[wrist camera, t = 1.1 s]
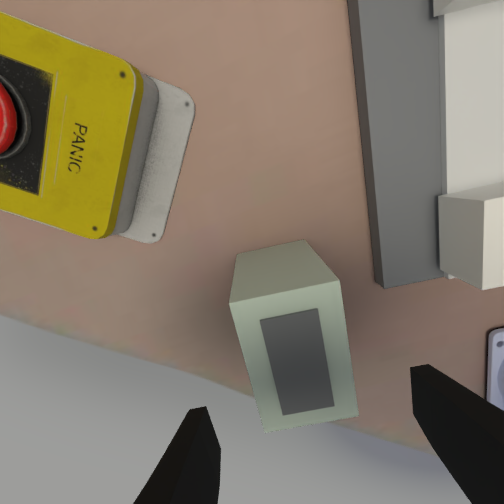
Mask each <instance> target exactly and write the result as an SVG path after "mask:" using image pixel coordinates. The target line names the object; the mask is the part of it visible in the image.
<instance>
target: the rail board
mask: <svg viewBox="0 0 504 504" xmlns="http://www.w3.org/2000/svg"><path fill="white" fill-rule="evenodd" d="M347 2H348V12H349V22H350V32H351V42H352V52H353V62H354V72H355V82H356V92H357V102H358V112H359V121H360V131H361V141H362V151H363V161H364V171H365V181H366V191H367V201H368V211H369V221H370V231H371V241H372V251H373V261H374V271H375V281H376V282H377V283H378V284H379V285H380V286H381V287H383V288H384V289H387V288H391V287H396V286H401V285H406V284H411V283H416V282H421V281H425V280H430V279H435V278H440V277H446V278H447V279H451V278H458V279H460V280H462V281H464V282H466V283H469V284H471V285H473V286H475V287H477V288H479V289H481V290H486V289H491V288H496V287H501V286H504V0H347Z"/></svg>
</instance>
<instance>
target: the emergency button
mask: <svg viewBox="0 0 504 504" xmlns="http://www.w3.org/2000/svg"><path fill="white" fill-rule="evenodd" d="M194 117H195V104H194V102H193V100H192V98H191V97H190V95H189V94H188V93H186V92H185V91H183V90H182V89H180V88H178V87H176V86H173V85H171V84H168V83H165V82H163V81H160V80H158V79H155V78H153V77H150V76H147V75H145V74H143V73H141V72H140V71H139V70H138V69H137V68H135V67H134V66H133V65H131V64H130V63H128V62H126V61H125V60H123V59H121V58H119V57H116V56H114V55H111V54H108V53H106V52H103V51H101V50H98V49H96V48H93V47H91V46H88V45H86V44H83V43H80V42H78V41H75V40H73V39H70V38H68V37H65V36H63V35H60V34H58V33H55V32H52V31H50V30H47V29H45V28H42V27H40V26H37V25H35V24H32V23H30V22H27V21H24V20H22V19H19V18H17V17H14V16H12V15H9V14H7V13H4V12H2V11H0V210H1V211H4V212H7V213H10V214H13V215H17V216H20V217H23V218H26V219H29V220H32V221H35V222H38V223H42V224H45V225H48V226H51V227H54V228H57V229H60V230H64V231H67V232H70V233H73V234H76V235H79V236H82V237H86V238H89V239H100V238H106V237H107V236H111V235H116V234H117V235H120V236H124V237H127V238H130V239H133V240H136V241H139V242H142V243H154V242H156V241H159V240H160V239H161V237H162V236H163V234H164V231H165V227H166V223H167V220H168V216H169V212H170V208H171V204H172V201H173V197H174V193H175V189H176V185H177V182H178V178H179V174H180V170H181V166H182V163H183V159H184V155H185V151H186V148H187V144H188V140H189V136H190V132H191V129H192V125H193V121H194Z"/></svg>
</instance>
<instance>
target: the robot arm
mask: <svg viewBox="0 0 504 504" xmlns="http://www.w3.org/2000/svg"><path fill="white" fill-rule="evenodd" d="M410 373H411V388H412V403H413V414H414V416H415V418H416V420H417V421H418V423H419V425H420V427H421V429H422V430H423V432H424V434H425V436H426V437H427V439H428V441H429V442H430V444H431V446H432V447H433V449H434V450H435V452H436V453H437V455H438V456H439V458H440V459H441V461H442V462H443V463H444V465H445V466H446V468H447V469H448V471H449V472H450V473H451V475H452V476H453V478H454V479H455V481H456V482H457V483H458V485H459V486H460V487H461V489H462V490H463V492H464V493H465V495H466V496H467V497H468V499H469V500H470V502H471V503H472V504H504V328H501V329H496V330H493V331H492V332H491V333H490V334H489V347H488V377H487V400H485V399H483V398H482V397H480V396H478V395H477V394H475V393H474V392H472V391H470V390H469V389H467V388H466V387H464V386H462V385H461V384H459V383H458V382H456V381H455V380H453V379H451V378H450V377H448V376H447V375H445V374H443V373H442V372H440V371H439V370H437V369H435V368H434V367H432V366H431V365H429V364H426V365H421V366H415V367H410ZM220 461H221V448H220V445H219V442H218V439H217V436H216V434H215V430H214V428H213V425H212V422H211V419H210V416H209V414H208V410H207V407H206V406H205V407H200V408H195V409H190V410H189V411H188V413H187V414H186V416H185V418H184V420H183V422H182V423H181V425H180V427H179V429H178V431H177V432H176V434H175V436H174V437H173V439H172V441H171V443H170V444H169V446H168V448H167V450H166V452H165V453H164V455H163V456H162V458H161V460H160V462H159V463H158V465H157V467H156V468H155V470H154V472H153V473H152V475H151V477H150V478H149V480H148V482H147V483H146V485H145V486H144V488H143V489H142V491H141V492H140V494H139V496H138V497H137V499H136V500H135V502H134V503H133V504H217V503H218V495H219V486H220Z"/></svg>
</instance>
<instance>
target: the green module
mask: <svg viewBox="0 0 504 504" xmlns="http://www.w3.org/2000/svg"><path fill="white" fill-rule="evenodd" d="M229 306H230V309H231V313H232V317H233V320H234V324H235V327H236V331H237V335H238V338H239V342H240V345H241V349H242V353H243V356H244V360H245V364H246V367H247V371H248V374H249V378H250V382H251V385H252V389H253V392H254V396H255V400H256V403H257V406H258V410H259V414H260V418H261V421H262V425H263V429H264V432H265V433H267V432H273V431H279V430H284V429H289V428H295V427H301V426H306V425H312V424H317V423H323V422H328V421H334V420H340V419H345V418H351V417H356V416H359V413H358V406H357V399H356V392H355V385H354V378H353V371H352V364H351V357H350V350H349V343H348V336H347V328H346V321H345V314H344V307H343V300H342V293H341V286H340V280H339V279H338V278H337V277H336V275H335V274H334V273H333V272H332V271H331V270H330V268H329V267H328V266H327V265H326V264H325V263H324V262H323V260H322V259H321V258H320V257H319V256H318V255H317V253H316V252H315V251H314V250H313V249H312V248H311V247H310V245H309V244H308V243H307V242H306V241H305V240H304V239H303V240H299V241H294V242H290V243H285V244H281V245H276V246H272V247H267V248H262V249H258V250H253V251H249V252H244V253H240V254H237V257H236V263H235V269H234V275H233V281H232V287H231V293H230V299H229Z"/></svg>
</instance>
